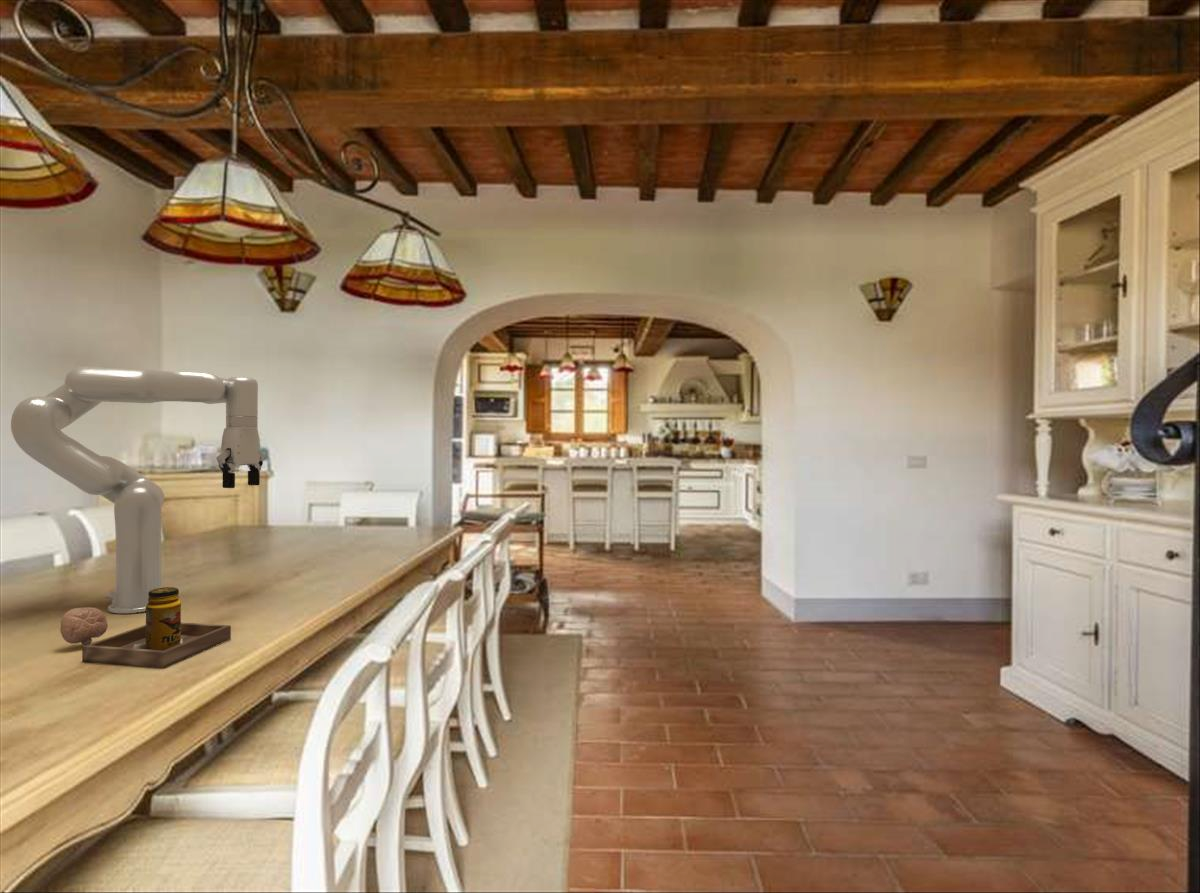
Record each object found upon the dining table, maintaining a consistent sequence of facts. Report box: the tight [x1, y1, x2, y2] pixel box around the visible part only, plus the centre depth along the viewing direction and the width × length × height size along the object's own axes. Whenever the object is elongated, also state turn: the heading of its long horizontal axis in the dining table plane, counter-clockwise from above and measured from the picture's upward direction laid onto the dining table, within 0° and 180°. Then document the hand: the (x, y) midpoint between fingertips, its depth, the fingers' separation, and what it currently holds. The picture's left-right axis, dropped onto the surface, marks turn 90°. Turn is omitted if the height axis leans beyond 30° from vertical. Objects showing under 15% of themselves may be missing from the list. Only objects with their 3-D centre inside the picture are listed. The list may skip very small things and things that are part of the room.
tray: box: [81, 621, 232, 669], centre depth 136 cm, size 18×18×3 cm
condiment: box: [134, 586, 183, 651], centre depth 135 cm, size 7×8×12 cm
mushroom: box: [59, 606, 108, 646], centre depth 137 cm, size 8×6×8 cm
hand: (241, 486), depth 178 cm, fingers open, 9 cm apart
